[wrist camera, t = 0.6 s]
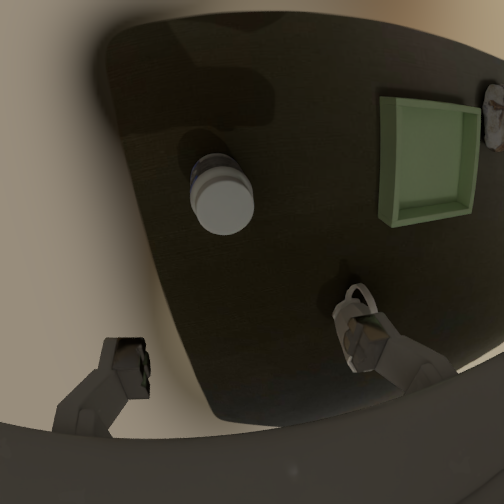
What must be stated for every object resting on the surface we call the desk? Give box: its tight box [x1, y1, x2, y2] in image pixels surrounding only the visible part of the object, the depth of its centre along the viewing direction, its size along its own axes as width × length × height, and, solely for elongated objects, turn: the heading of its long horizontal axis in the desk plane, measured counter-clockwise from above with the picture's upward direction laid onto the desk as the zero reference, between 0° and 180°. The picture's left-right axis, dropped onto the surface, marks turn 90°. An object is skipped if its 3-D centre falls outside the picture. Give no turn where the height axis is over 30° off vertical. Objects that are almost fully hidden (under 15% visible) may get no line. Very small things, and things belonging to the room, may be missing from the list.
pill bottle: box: [190, 153, 254, 235], centre depth 24 cm, size 5×5×8 cm
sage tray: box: [378, 96, 481, 228], centre depth 29 cm, size 14×14×3 cm
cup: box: [332, 283, 378, 372], centre depth 35 cm, size 7×10×8 cm
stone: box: [482, 84, 504, 152], centre depth 28 cm, size 10×7×3 cm
